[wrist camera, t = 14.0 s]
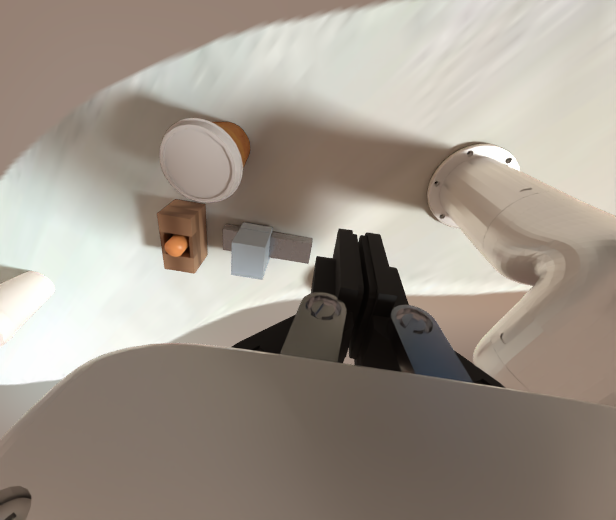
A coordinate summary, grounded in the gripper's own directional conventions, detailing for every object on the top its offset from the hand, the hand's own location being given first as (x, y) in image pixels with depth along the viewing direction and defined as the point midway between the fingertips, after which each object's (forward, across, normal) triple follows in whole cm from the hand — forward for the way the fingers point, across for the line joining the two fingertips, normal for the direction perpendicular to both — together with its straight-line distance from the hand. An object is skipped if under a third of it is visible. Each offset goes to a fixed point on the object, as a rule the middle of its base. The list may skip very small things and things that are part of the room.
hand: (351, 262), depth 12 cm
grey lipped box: (+34, +11, +19) cm, 40 cm away
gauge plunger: (+30, +23, +18) cm, 42 cm away
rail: (+34, +9, +19) cm, 40 cm away
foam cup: (+33, +56, +36) cm, 75 cm away
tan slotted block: (+34, +23, +18) cm, 45 cm away
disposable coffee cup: (+34, +16, +4) cm, 38 cm away
